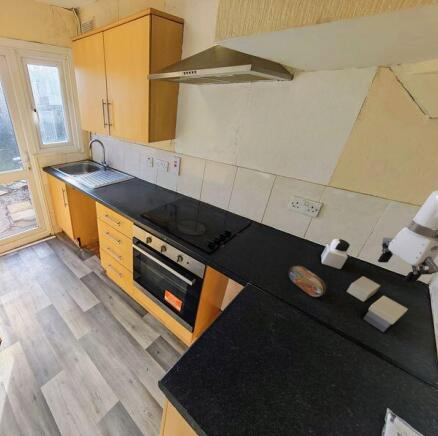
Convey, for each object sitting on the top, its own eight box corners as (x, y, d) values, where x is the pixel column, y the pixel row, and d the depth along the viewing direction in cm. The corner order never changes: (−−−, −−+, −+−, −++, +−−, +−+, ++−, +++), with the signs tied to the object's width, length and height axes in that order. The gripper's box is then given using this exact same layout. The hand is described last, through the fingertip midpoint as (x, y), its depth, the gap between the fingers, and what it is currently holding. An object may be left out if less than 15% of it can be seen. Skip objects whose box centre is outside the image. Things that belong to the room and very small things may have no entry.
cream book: (404, 313, 82) (408, 309, 81) (392, 324, 78) (396, 320, 77) (380, 299, 88) (383, 295, 86) (368, 309, 83) (371, 304, 82)
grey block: (395, 321, 85) (402, 312, 83) (383, 332, 81) (390, 323, 78) (374, 308, 90) (381, 300, 87) (362, 318, 86) (369, 310, 83)
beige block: (374, 293, 97) (380, 285, 94) (363, 301, 93) (369, 293, 90) (357, 283, 102) (363, 276, 99) (346, 291, 97) (351, 283, 95)
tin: (285, 276, 104) (292, 262, 100) (290, 275, 105) (297, 261, 101) (317, 301, 92) (325, 286, 88) (322, 299, 93) (331, 284, 89)
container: (338, 261, 115) (351, 240, 109) (340, 269, 110) (353, 248, 103) (320, 255, 119) (331, 235, 113) (321, 263, 113) (332, 242, 107)
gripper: (472, 246, 62) (432, 290, 71) (410, 216, 77) (383, 255, 86) (445, 245, 62) (408, 290, 71) (388, 215, 77) (363, 255, 86)
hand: (394, 271), depth 78 cm, fingers open, 9 cm apart
